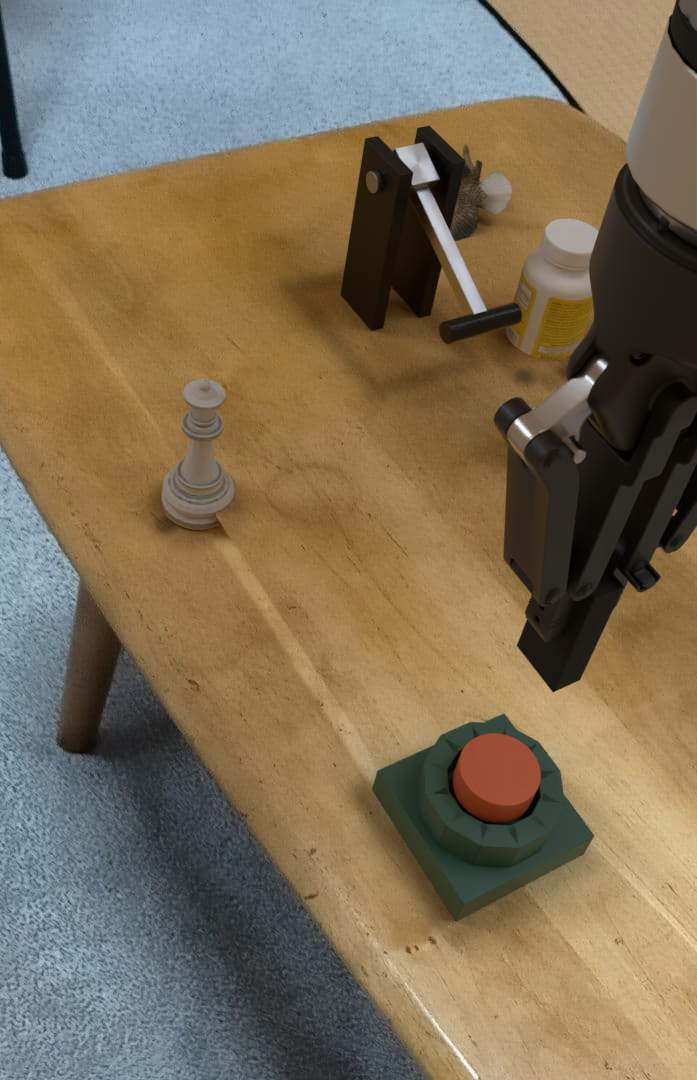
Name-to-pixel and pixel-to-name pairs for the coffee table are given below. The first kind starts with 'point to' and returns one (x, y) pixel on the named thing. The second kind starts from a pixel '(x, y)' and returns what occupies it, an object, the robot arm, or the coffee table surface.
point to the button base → (478, 823)
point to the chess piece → (199, 463)
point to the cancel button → (496, 777)
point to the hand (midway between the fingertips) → (548, 662)
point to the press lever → (451, 256)
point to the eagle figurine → (478, 197)
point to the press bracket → (396, 230)
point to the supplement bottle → (555, 292)
